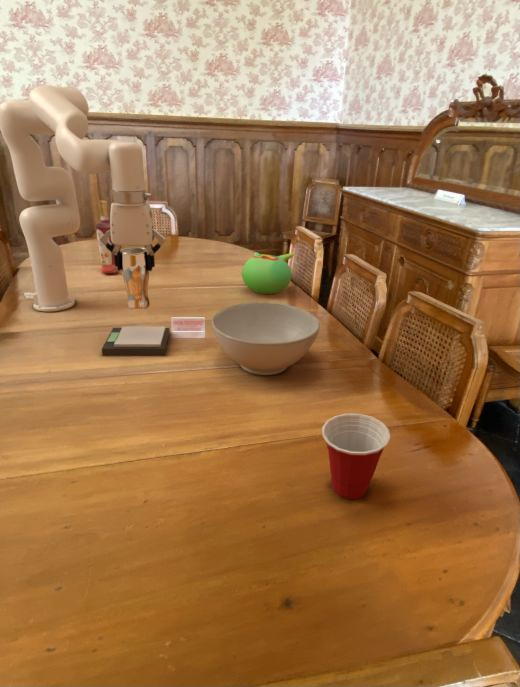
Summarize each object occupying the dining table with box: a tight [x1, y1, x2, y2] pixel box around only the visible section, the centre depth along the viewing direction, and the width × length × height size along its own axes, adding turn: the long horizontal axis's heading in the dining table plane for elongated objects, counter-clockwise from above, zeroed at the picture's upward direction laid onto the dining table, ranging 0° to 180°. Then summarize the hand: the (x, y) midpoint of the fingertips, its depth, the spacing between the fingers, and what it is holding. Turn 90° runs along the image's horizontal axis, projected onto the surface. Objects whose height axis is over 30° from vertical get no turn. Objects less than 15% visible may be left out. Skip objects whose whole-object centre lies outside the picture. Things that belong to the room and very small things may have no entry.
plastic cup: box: [321, 412, 391, 500], centre depth 78 cm, size 11×11×12 cm
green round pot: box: [241, 252, 295, 295], centre depth 170 cm, size 18×17×15 cm
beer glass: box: [120, 246, 151, 311], centre depth 122 cm, size 7×7×15 cm
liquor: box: [95, 200, 119, 276], centre depth 183 cm, size 7×7×28 cm
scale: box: [101, 325, 171, 356], centre depth 129 cm, size 16×14×3 cm
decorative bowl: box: [210, 301, 321, 376], centre depth 119 cm, size 27×27×12 cm
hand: (135, 268), depth 121 cm, fingers closed on beer glass, 7 cm apart
